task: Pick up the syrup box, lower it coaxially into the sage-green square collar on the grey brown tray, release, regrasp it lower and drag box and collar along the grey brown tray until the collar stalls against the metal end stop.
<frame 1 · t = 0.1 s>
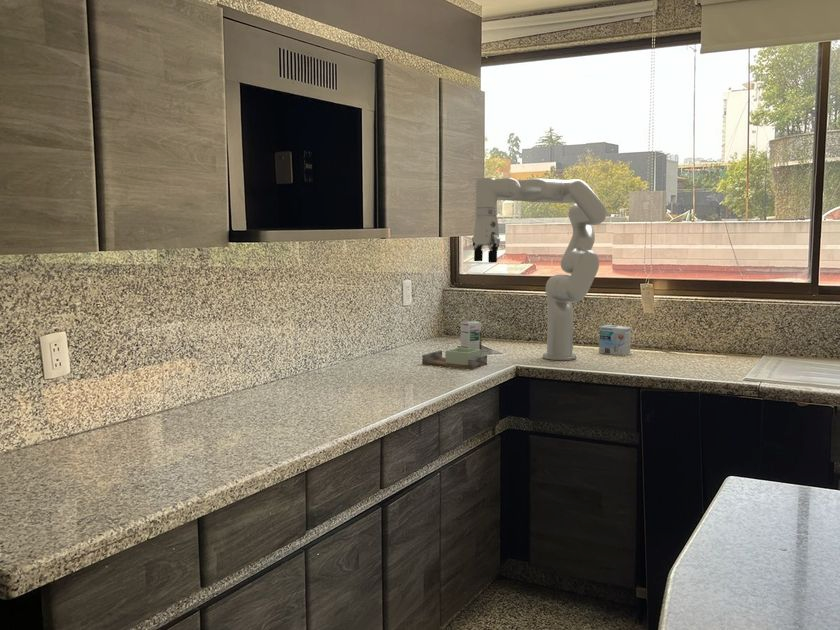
hand: (485, 261, 273), 37 cm above the worktop, tool pointing down, fingers open, 9 cm apart
light bulb box: (614, 354, 302), on the worktop
syrup box: (470, 360, 287), on the worktop
grey brown tray: (454, 364, 277), on the worktop
collar: (463, 356, 275), point 3 cm above the worktop, slide at 0.0 cm
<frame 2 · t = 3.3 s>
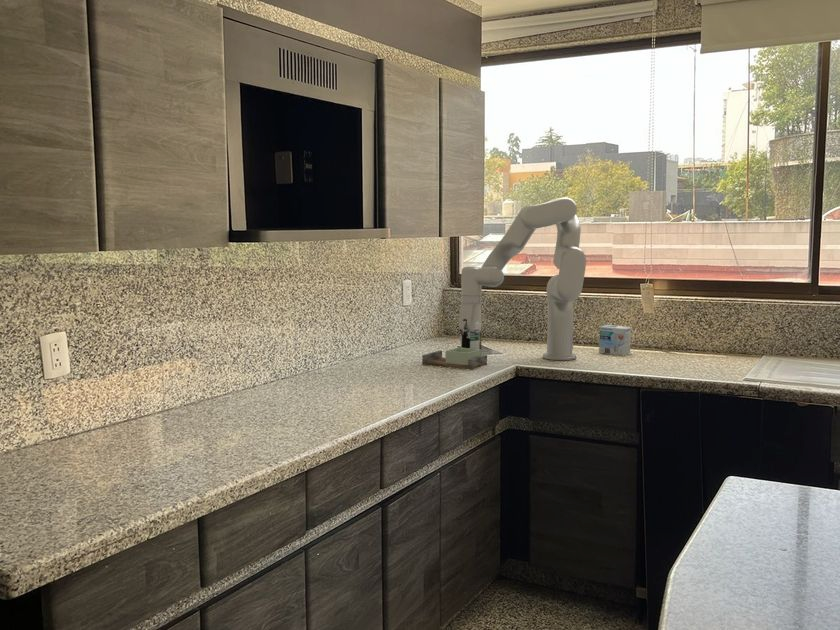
hand: (470, 346, 286), 5 cm above the worktop, tool pointing down, fingers closed on syrup box, 7 cm apart
syrup box: (470, 360, 287), on the worktop, touching gripper
everything else where it was.
when the fingers open (8 cm above the worktop, at t = 10.1 s): syrup box stays where it is, resting on collar.
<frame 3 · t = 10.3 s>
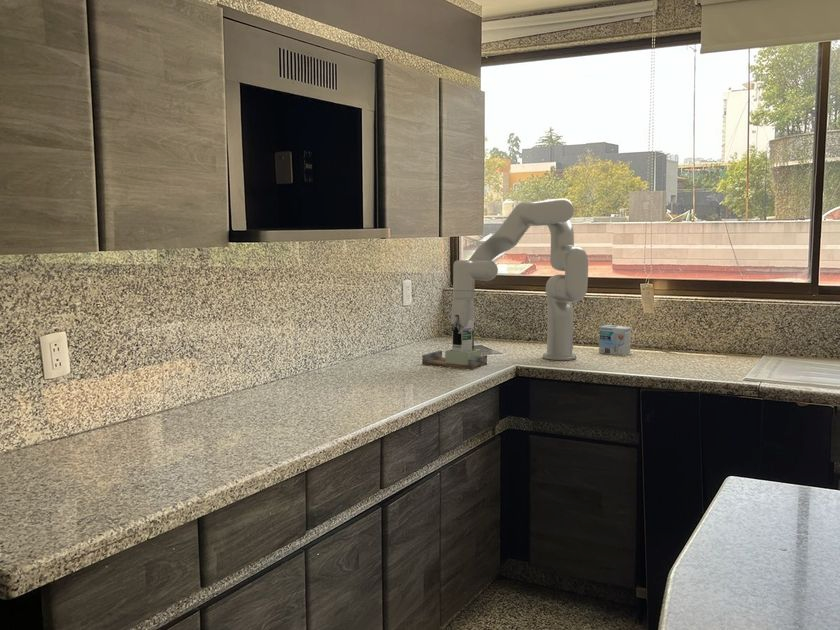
hand: (463, 342, 274), 8 cm above the worktop, tool pointing down, fingers open, 9 cm apart
syrup box: (462, 360, 275), point 2 cm above the worktop, touching collar
collar: (463, 356, 275), point 3 cm above the worktop, slide at 0.1 cm, touching syrup box
everything else where it was.
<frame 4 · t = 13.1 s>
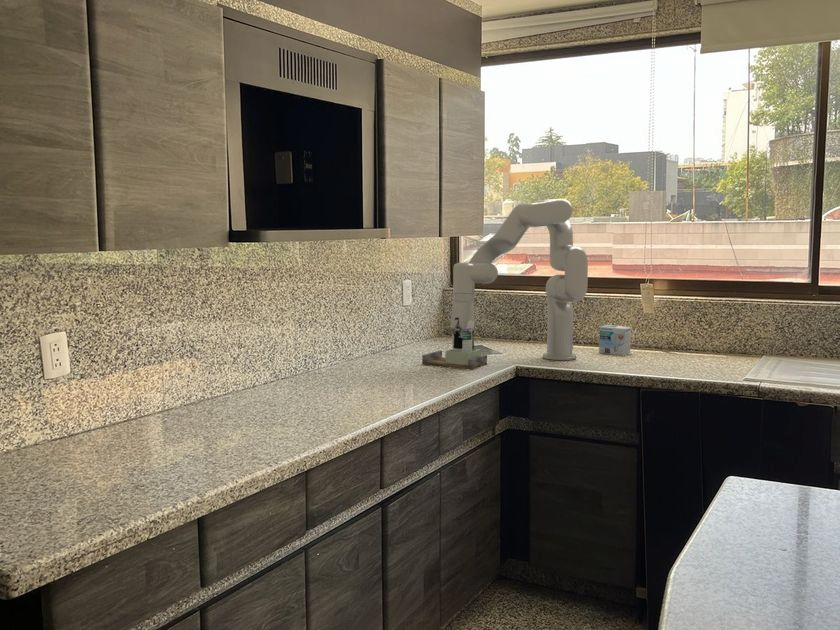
hand: (463, 346, 274), 7 cm above the worktop, tool pointing down, fingers closed on syrup box, 7 cm apart
syrup box: (463, 360, 275), point 2 cm above the worktop, touching collar, gripper
everything else where it was.
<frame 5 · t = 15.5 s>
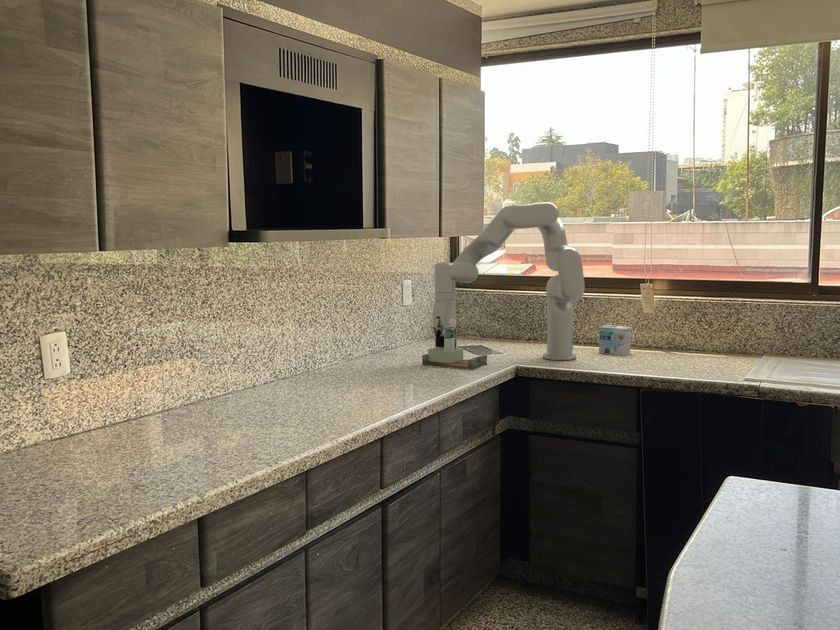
hand: (445, 345, 278), 7 cm above the worktop, tool pointing down, fingers closed on syrup box, 7 cm apart
syrup box: (445, 358, 279), point 2 cm above the worktop, touching collar, gripper
collar: (445, 354, 278), point 3 cm above the worktop, slide at 7.1 cm, touching syrup box
everything else where it was.
when the fingers open (7 cm above the worktop, at t = 16.1 s): syrup box stays where it is, resting on collar.
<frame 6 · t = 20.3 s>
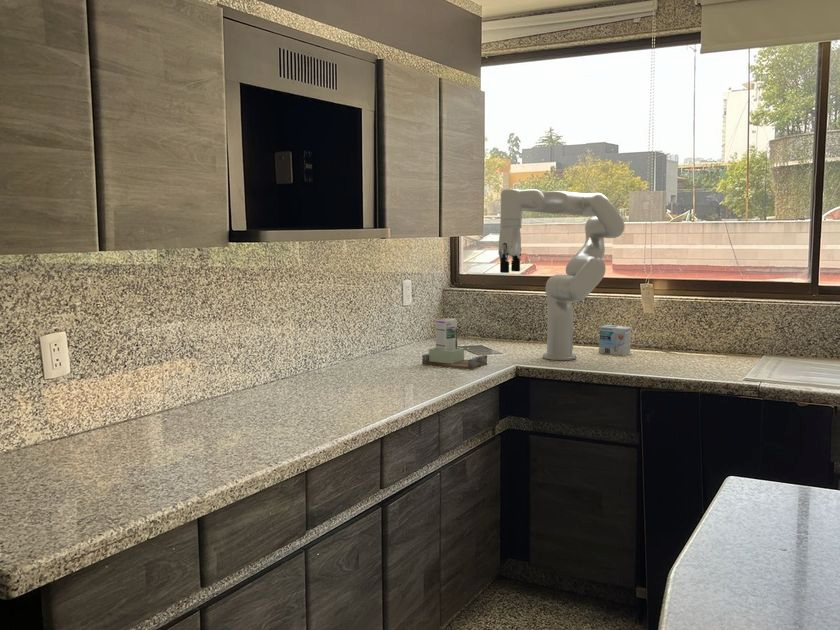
hand: (510, 272, 276), 33 cm above the worktop, tool pointing down, fingers open, 9 cm apart
syrup box: (446, 358, 279), point 2 cm above the worktop, touching collar
collar: (446, 354, 278), point 3 cm above the worktop, slide at 6.8 cm, touching syrup box
everything else where it was.
at the end: collar slide at 6.8 cm; syrup box 0.4 cm from the collar (horizontally); syrup box tilted 0° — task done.
